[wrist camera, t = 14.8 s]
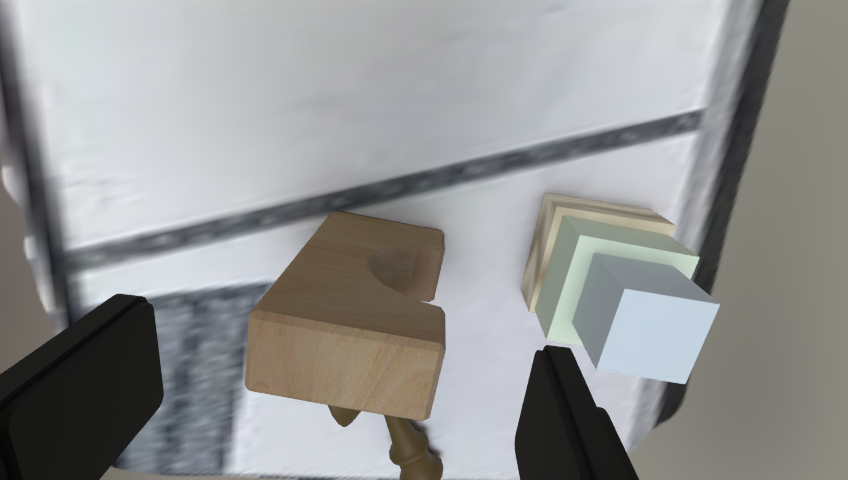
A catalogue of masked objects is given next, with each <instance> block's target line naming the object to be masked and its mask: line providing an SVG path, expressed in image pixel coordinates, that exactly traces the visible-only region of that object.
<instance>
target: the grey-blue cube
mask: <svg viewBox="0 0 848 480" xmlns="http://www.w3.org/2000/svg"><path fill="white" fill-rule="evenodd" d="M719 306H720V304H719V303H718V302H716V301H715V300H714V299H713V298H712V297H710V296H709V295H708V294H707V293H706V292H704V291H703V290H702V289H701V288H700V287H698V286H697V285H696V284H695V283H694V282H692V281H691V280H690V279H689V278H687V277H686V276H685V275H684V274H683V273H681V272H680V271H679V270H678V269H677V268H675V267H674V266H670V265H664V264H658V263H652V262H647V261H641V260H635V259H629V258H623V257H617V256H611V255H605V254H599V253H594V255H593V258H592V261H591V264H590V267H589V271H588V274H587V277H586V280H585V283H584V286H583V289H582V293H581V296H580V299H579V302H578V305H577V308H576V312H575V315H574V318H573V321H572V324H573V326H574V328H575V330H576V332H577V334H578V336H579V338H580V339H581V341H582V343H583V345H584V347H585V349H586V351H587V353H588V355H589V357H590V359H591V361H592V363H593V365H594V366H595V368H596V370H602V371H608V372H614V373H620V374H626V375H632V376H638V377H644V378H650V379H656V380H662V381H668V382H675V383H681V384H685V383H686V381H687V379H688V377H689V374H690V372H691V370H692V368H693V365H694V363H695V361H696V358H697V356H698V354H699V352H700V349H701V347H702V345H703V342H704V340H705V338H706V336H707V333H708V331H709V329H710V326H711V324H712V322H713V320H714V317H715V315H716V313H717V311H718V308H719Z"/></svg>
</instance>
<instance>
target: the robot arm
mask: <svg viewBox="0 0 848 480" xmlns="http://www.w3.org/2000/svg"><path fill="white" fill-rule="evenodd" d="M163 395H164V391H163V382H162V374H161V365H160V357H159V348H158V340H157V332H156V323H155V315H154V308H153V306H152V304H150V303H148V301H147V300H146V298H144V297H143V296H135V295H126V294H116V295H114V296H112V297H111V298H109V299H108V300H107V301H105V302H104V303H102V304H101V305H99V306H98V307H97V308H95V309H94V310H92V311H91V312H89V313H88V314H86V315H85V316H84V317H82V318H81V319H79V320H78V321H76V322H75V323H74V324H72V325H71V326H69V327H68V328H66V329H65V330H64V331H62V332H61V333H59V334H58V335H56V336H55V337H53V338H52V339H51V340H49V341H48V342H47V343H45V344H43V345H42V346H41V347H39V348H38V349H36V350H35V351H33V352H32V353H30V354H29V355H28V356H26V357H25V358H23V359H22V360H20V361H19V362H18V363H16V364H15V365H14V366H12V367H10V368H9V369H8V370H6V371H5V372H3V373H2V374H0V480H99V479H100V478H101V477H102V476H103V474H104V473H105V472H106V471H107V470H108V468H109V467H110V466H111V465H112V464H113V463H114V461H115V460H116V459H117V458H118V457H119V455H120V454H121V453H122V452H123V451H124V449H125V448H126V447H127V446H128V445H129V443H130V442H131V441H132V440H133V439H134V437H135V436H136V435H137V434H138V433H139V431H140V430H141V429H142V428H143V427H144V425H145V424H146V423H147V422H148V421H149V419H150V418H151V417H152V416H153V415H154V413H155V412H156V411H157V410H158V408H159V407H160V405H161V403H162V400H163ZM515 453H516V459H517V464H518V470H519V475H520V480H639V478H638V476H637V474H636V472H635V470H634V468H633V466H632V464H631V461H630V459H629V457H628V455H627V453H626V451H625V449H624V447H623V444H622V442H621V440H620V438H619V436H618V434H617V432H616V430H615V427H614V425H613V423H612V421H611V419H610V417H609V415H608V413H607V412H606V410H605V409H603V408H601V407H597V406H596V404H595V402H594V400H593V397H592V395H591V393H590V391H589V388H588V386H587V384H586V382H585V380H584V377H583V375H582V373H581V371H580V368H579V366H578V364H577V362H576V359H575V357H574V355H573V353H572V351H571V349H570V348H566V347H558V346H550V345H546V346H545V347H544V349H543V351H541V350H537V351H536V353H535V356H534V360H533V364H532V368H531V373H530V377H529V381H528V385H527V389H526V393H525V398H524V402H523V406H522V410H521V414H520V418H519V422H518V427H517V431H516V435H515Z"/></svg>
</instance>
